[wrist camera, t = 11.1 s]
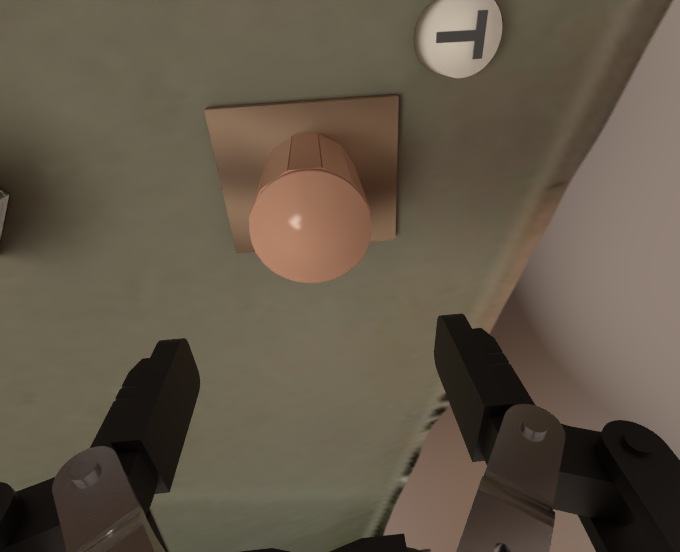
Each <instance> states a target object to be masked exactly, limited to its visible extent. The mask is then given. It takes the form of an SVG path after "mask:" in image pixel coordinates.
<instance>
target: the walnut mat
mask: <svg viewBox="0 0 680 552" xmlns="http://www.w3.org/2000/svg"><path fill="white" fill-rule="evenodd" d="M398 109H399V96H398V95H397V94H392V95H378V96H364V97H350V98H336V99H323V100H309V101H295V102H281V103H267V104H253V105H239V106H225V107H211V108H206V109H205V110H204V112H205V116H206V121H207V125H208V129H209V134H210V138H211V143H212V147H213V151H214V156H215V160H216V165H217V169H218V173H219V178H220V182H221V187H222V191H223V195H224V200H225V204H226V209H227V213H228V218H229V222H230V226H231V231H232V235H233V240H234V244H235V248H236V253H245V252H255V250H254V247H253V245H252V242H251V238H250V232H249V215H250V212H251V208H252V205H253V202H254V199H255V196H256V192H257V189H258V186H259V183H260V180H261V176H262V173H263V171H264V168H265V166H266V163H267V161H268V158H269V156H270V153H271V151H272V150H273V149H274V148H275V147H277V146H278V145H279V144H281V143H282V142H284V141H285V140H286V139H288V138H289V137H290V136H293V135H301V134H315V133H318V134H321V135H323V136H325V137H327V138H329V139H331V140H333V141H335V142H337V143H339V144H341V145H342V147H343V148H344V150H345V152H346V153H347V155H348V156H349V158H350V159H351V161H352V163H353V164H354V166H355V169H356V171H357V174H358V177H359V180H360V182H361V185H362V188H363V190H364V193H365V196H366V199H367V201H368V204H369V207H370V217H371V225H372V230H371V238H370V242H376V241H388V240H395V237H396V195H397V152H398Z"/></svg>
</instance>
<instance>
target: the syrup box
mask: <svg viewBox="0 0 680 552" xmlns="http://www.w3.org/2000/svg"><path fill="white" fill-rule="evenodd" d="M8 199H9V194H8V193H6V192H4V191H2V190H0V238H1V233H2V229H3V224H4V219H5V214H6V209H7V203H8Z"/></svg>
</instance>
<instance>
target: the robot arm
mask: <svg viewBox="0 0 680 552" xmlns="http://www.w3.org/2000/svg"><path fill="white" fill-rule="evenodd" d="M434 359H435V365H436V369H437V371H438V374H439V377H440V379H441V382H442V384H443V387H444V390H445V392H446V395H447V397H448V400H449V403H450V405H451V408H452V410H453V413H454V415H455V418H456V421H457V423H458V426H459V428H460V431H461V434H462V436H463V439H464V441H465V444H466V447H467V449H468V452H469V454H470V457H471V459H472V462H476V461H485V462H486V464H487V468H486V471H485V474H484V476H483V477H482V479H481V482H480V485H479V487H478V490H477V493H476V496H475V499H474V502H473V505H472V508H471V510H470V513H469V516H468V519H467V522H466V525H465V528H464V531H463V534H462V536H461V539H460V542H459V545H458V548H457V551H456V552H549V551H550V545H551V539H552V534H553V528H554V521H555V512H554V511H553V509H556V510H560V511H564V512H568V513H573V514H577V515H578V516H579V518H580V520H581V522H582V524H583V526H584V528H585V530H586V532H587V534H588V536H589V538H590V540H591V542H592V544H593V546H594V548H595V550H596V552H680V460H679V459H678V458H677V456H676V455H675V454H674V453H673V451H672V450H671V449H670V448H669V446H668V445H667V444H666V443H665V442H664V441H663V440H662V439H661V438H660V437H659V436H658V435H657V434H655V433H654V432H653V431H651V430H649V429H648V428H646V427H644V426H642V425H639V424H637V423H634V422H630V421H622V420H617V421H612V422H609V423H607V424H606V425H605V426H604V428H603V430H602V432H598V431H592V430H587V429H582V428H576V427H571V426H566V425H564V424H561V423H560V422H559V420H558V419H557V418H556V417H555V416H554V415H552V414H551V413H550V412H548V411H547V410H545V409H543V408H541V407H538V406H536V405H535V404H534V402H533V401H532V399H531V397H530V396H529V394H528V392H527V391H526V389H525V388H524V386H523V384H522V383H521V381H520V379H519V378H518V376H517V374H516V373H515V371H514V370H513V368H512V366H511V365H510V364H509V363H508V362H509V361H508V360H507V358H506V356H505V355H504V354H503V353H502V350H501V348H500V347H499V345H498V343H497V342H496V340H495V339H494V338H493V337H492V336H491V335H489V334H488V333H487V332H486V331H484V330H483V329H482V328H476V329H472V328H471V326H470V324H469V322H468V321H467V319H466V317H465V316H464V314H452V315H441V316H439V317H438V319H437V328H436V338H435V347H434ZM199 389H200V376H199V372H198V369H197V366H196V363H195V360H194V358H193V355H192V352H191V349H190V346H189V344H188V341H187V340H186V339H185V338H182V339H171V340H161V341H159V342H158V343H157V345H156V347H155V349H154V351H153V353H152V355H151V357H150V358H145V359H142V360H141V361H140V362H139V363H138V364H137V365H136V366H135V367H134V368H133V369H132V370H131V371H130V372H129V373H128V375H127V377H126V379H125V381H124V383H123V385H122V389H120V391H119V392H118V394H117V396H116V401H114V402H113V404H112V406H111V408H110V410H109V412H108V414H107V416H106V418H105V420H104V422H103V423H102V425H101V427H100V429H99V431H98V433H97V435H96V437H95V439H94V441H93V443H92V445H91V447H90V448H89V449H86V450H84V451H82V452H80V453H78V454H77V455H75V456H74V457H72V458H71V459H70V460H69V461H68V462H67V463H65V464H64V466H63V467H62V468H61V469H60V470H59V472H58V473H57V475H56V477H54V478H52V479H49V480H46V481H44V482H41V483H38V484H36V485H33V486H30V487H28V488H25V489H22V490H20V491H17V492H15V491H14V490H13V489H12V487H11V486H9V485H8V484H6V483H2V482H0V552H170V550H169V548H168V546H167V543H166V541H165V539H164V537H163V534H162V532H161V530H160V528H159V526H158V523H157V521H156V519H155V517H154V515H153V512H152V510H151V509H150V506H151V503H152V500H153V497H154V494H158V493H167V492H170V489H171V485H172V482H173V479H174V475H175V472H176V468H177V465H178V462H179V458H180V455H181V451H182V448H183V445H184V441H185V438H186V434H187V431H188V428H189V424H190V421H191V417H192V414H193V411H194V407H195V404H196V400H197V397H198V394H199ZM242 552H289V551H284V550H279V549H274V548H269V549H260V550H251V551H242ZM330 552H423V551H420V550H417V549H414V548H409V547H406V542H405V537H404V534H396V535H387V536H378V537H369V538H361V539H359V540H356V541H354V542H352V543H349V544H347V545H344V546H342V547H340V548H337V549H335V550H333V551H330Z"/></svg>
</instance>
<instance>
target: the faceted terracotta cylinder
mask: <svg viewBox="0 0 680 552" xmlns="http://www.w3.org/2000/svg"><path fill="white" fill-rule="evenodd" d="M371 230H372V225H371V217H370V207H369V204H368V201H367V199H366V196H365V193H364V190H363V188H362V185H361V182H360V180H359V177H358V174H357V171H356V169H355V166H354V164H353V163H352V161H351V159H350V158H349V156H348V155H347V153H346V152H345V150H344V148H343V147H342V145H341V144H339V143H337V142H335V141H333V140H331V139H329V138H327V137H325V136H323V135H321V134H318V133H315V134H301V135H293V136H290V137H289V138H288V139H286V140H285V141H284V142H282V143H281V144H279V145H278V146H277V147H275V148H274V149H273V150H272V151H271V153H270V156H269V158H268V161H267V163H266V166H265V168H264V171H263V173H262V176H261V180H260V183H259V186H258V189H257V192H256V196H255V199H254V202H253V205H252V208H251V212H250V215H249V232H250V238H251V242H252V245H253V247H254V250H255V252H256V253H257V255H258V257H259V258H260V259H261V260H262V262H263V263H264V264H265V265H266V266H267V267H268V268H269V269H271V270H272V271H273V272H275V273H277V274H278V275H280V276H282V277H284V278H287V279H289V280H293V281H297V282H302V283H319V282H325V281H329V280H332V279H335V278H337V277H339V276H341V275H343V274H345V273H346V272H348V271H349V270H351V269H352V268H353V267H354V266H355V265H356V264H357V263H358V262H359V261H360V260H361V258H362V257H363V255H364V254H365V252H366V250H367V248H368V245H369V242H370V238H371Z"/></svg>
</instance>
